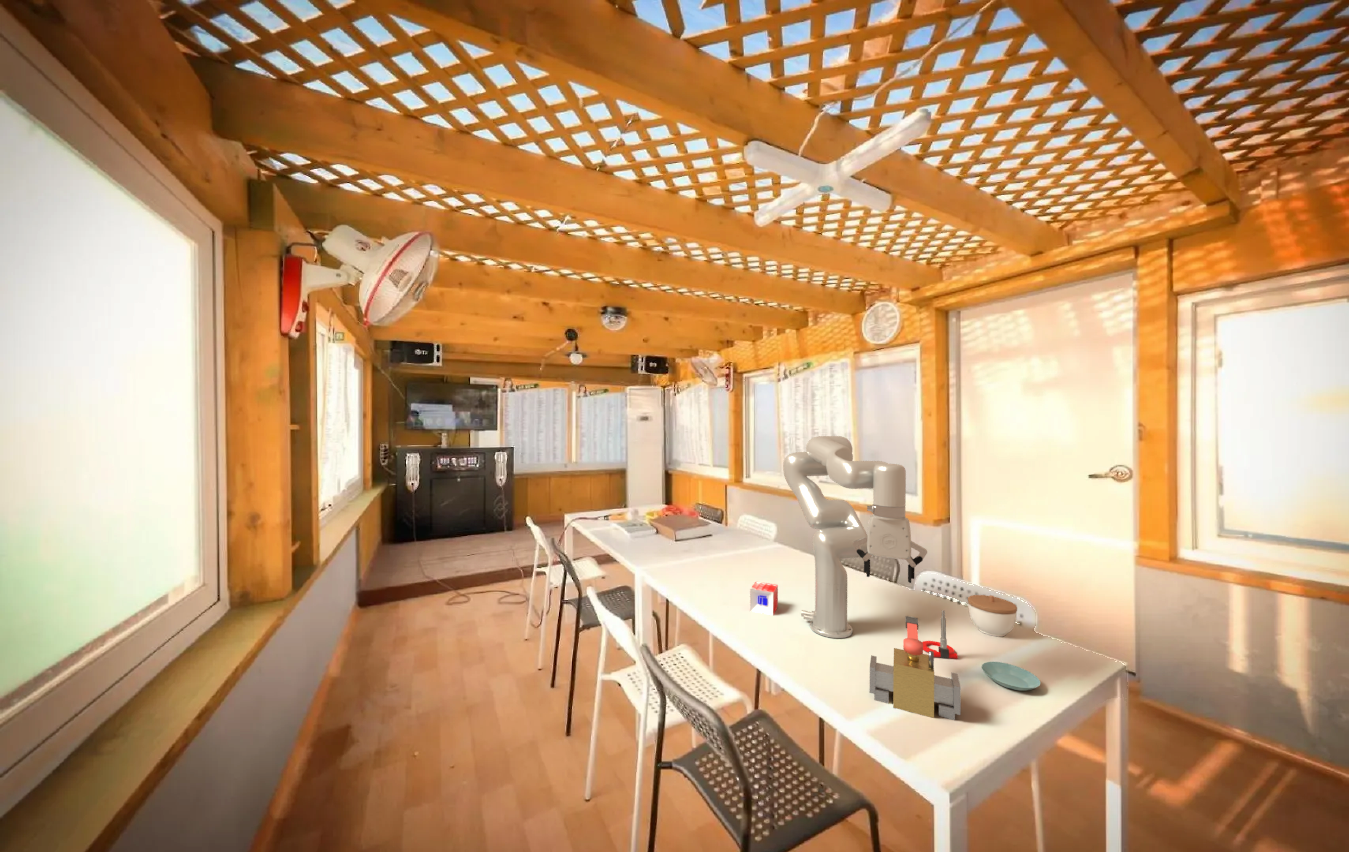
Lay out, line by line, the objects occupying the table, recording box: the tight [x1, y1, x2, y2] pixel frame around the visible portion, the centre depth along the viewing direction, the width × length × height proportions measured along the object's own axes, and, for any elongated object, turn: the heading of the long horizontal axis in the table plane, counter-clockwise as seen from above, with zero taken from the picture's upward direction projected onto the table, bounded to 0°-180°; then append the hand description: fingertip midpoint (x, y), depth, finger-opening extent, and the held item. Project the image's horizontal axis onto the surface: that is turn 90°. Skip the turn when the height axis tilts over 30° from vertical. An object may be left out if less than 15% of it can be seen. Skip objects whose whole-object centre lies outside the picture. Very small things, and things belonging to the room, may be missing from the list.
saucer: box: [981, 661, 1041, 692], centre depth 113 cm, size 12×12×2 cm
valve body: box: [869, 647, 962, 721], centre depth 104 cm, size 18×8×14 cm, turn 63°
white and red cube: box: [749, 581, 779, 616], centre depth 157 cm, size 8×8×8 cm
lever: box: [902, 615, 924, 655], centre depth 110 cm, size 18×4×2 cm, turn 153°
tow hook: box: [921, 609, 959, 660], centre depth 129 cm, size 8×13×9 cm
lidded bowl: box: [967, 594, 1018, 637], centre depth 141 cm, size 13×13×11 cm
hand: (888, 578), depth 116 cm, fingers open, 9 cm apart
